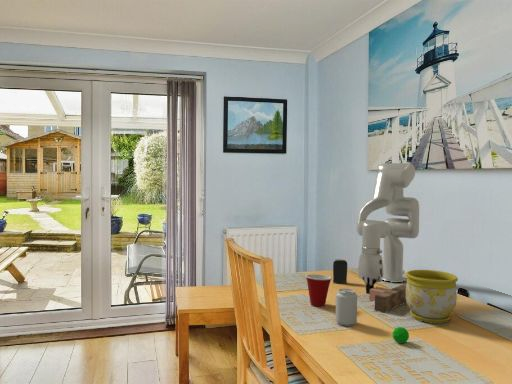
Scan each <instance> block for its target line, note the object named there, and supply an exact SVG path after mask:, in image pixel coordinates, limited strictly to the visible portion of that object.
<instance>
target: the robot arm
mask: <svg viewBox="0 0 512 384" xmlns="http://www.w3.org/2000/svg"><path fill="white" fill-rule="evenodd" d="M377 172H378V173H377V175H376V179H375V183H374V189H373V193H372V198H371V199H370V200H369V201H368V202H367V203H365V204H364V205H363V207H362V208H361V209H360V211H359V214H358V218H357V223H356V232H357V234H358V235H359V236H361V252H360V254H359V255H360V256H359V260H358V267H357V273H358V278H359V279H361V280H363V282H364V284H365V292H366V294H368V295H370V289H372V288H375V284H377V283H380V282H385V281H390V282H389V283H392V282H402V283H404V282H403V281H405V280H406V281H407V279H406V277H403V275H404V274H406V271H405V269H403V268H404V244H403V243H402V241H401V238H402V239H417V237H419V232H420V204H419V200H418V199H417V198H415V197H409V196H408V197H406V196H404V189H406V188H408V187H409V186H410V184H411V183H412V182H413V181H414V178H415V176H416V168H415V166H414V165H413V164H412V163H403V162H401V163H400V162H399V163H398V162H397V163H396V162H395V163H394V162H393V163H392V162H391V163H390V162H387V163H382V164H379V166H378V167H377ZM382 208H385V211H386V214H387V215H390V216H395V217H388V218H386V219H384V220H374V219H368V217H369V216H370V215H371V213H372V212H375V211H377V210H379V209H382ZM397 217H398V218H397ZM399 217H407V218H399ZM381 239H383V250H381ZM381 254H383V256H382V255H381ZM382 280H384V281H382ZM406 281H405V282H406Z"/></svg>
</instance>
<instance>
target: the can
mask: <svg viewBox="0 0 512 384" xmlns="http://www.w3.org/2000/svg"><path fill="white" fill-rule="evenodd" d="M334 317H335V322H336V323H337V325H340V326H343V327H351V326H354V325H355V324H356V323H357V322H358V321H357V319H358V295H357V293H356V290H354V289H352V288H338V290H337V293H336V294H335V316H334Z"/></svg>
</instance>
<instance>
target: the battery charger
mask: <svg viewBox="0 0 512 384" xmlns="http://www.w3.org/2000/svg"><path fill="white" fill-rule="evenodd" d="M347 277H348V261H347V260H346V259H340V258H339V259H336V258H335V259H334V260H333V262H332V283H333V284H335V283H336V284H347V281H348V279H347Z"/></svg>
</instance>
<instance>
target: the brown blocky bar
mask: <svg viewBox="0 0 512 384" xmlns="http://www.w3.org/2000/svg"><path fill="white" fill-rule="evenodd" d="M406 285H407V282H404V283H403V284H401V285H399V286H395V287H392V288H391V289H389V290H387V291H385V292H382V293H380V294H377V295H375V302H374V311H375V310H376V311H375V312H379V311H380V312H379V313H383V312H385V313H387V312H388V311H387V310H389V311H391V310H393V309H395V308H397V307H399V306H398V305H400V304H402V305H404V304H405V303H406V304H407V301H406ZM403 303H404V304H403ZM396 306H397V307H396ZM400 306H401V305H400ZM394 307H395V308H394ZM392 308H393V309H392ZM390 309H391V310H390ZM386 311H387V312H386Z"/></svg>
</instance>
